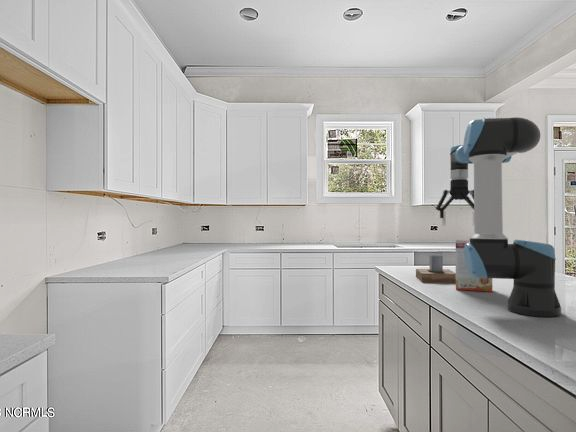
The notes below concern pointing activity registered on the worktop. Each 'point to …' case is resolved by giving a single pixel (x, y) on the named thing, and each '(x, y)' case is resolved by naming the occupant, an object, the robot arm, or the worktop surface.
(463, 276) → the cracker box
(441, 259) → the peg
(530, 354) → the worktop surface
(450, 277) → the socket plate
